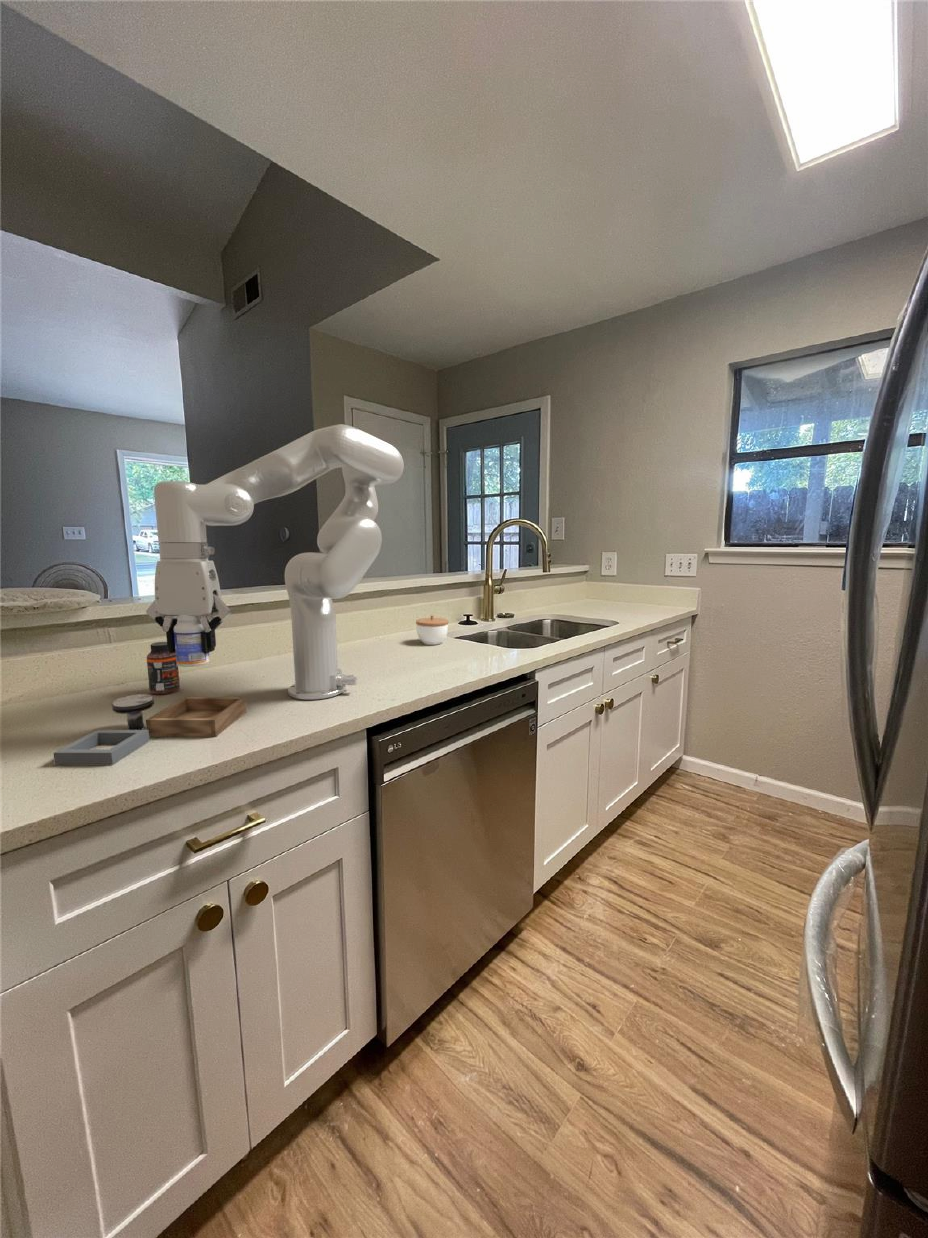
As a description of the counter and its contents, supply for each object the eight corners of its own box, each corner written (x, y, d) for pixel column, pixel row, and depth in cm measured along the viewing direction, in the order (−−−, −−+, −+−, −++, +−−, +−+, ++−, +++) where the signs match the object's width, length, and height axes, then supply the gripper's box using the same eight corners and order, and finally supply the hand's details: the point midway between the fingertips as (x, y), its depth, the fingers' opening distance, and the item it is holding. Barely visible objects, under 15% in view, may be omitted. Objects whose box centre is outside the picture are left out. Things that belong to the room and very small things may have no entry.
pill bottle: (185, 660, 93) (180, 610, 91) (214, 660, 93) (210, 609, 92) (170, 667, 87) (165, 614, 86) (202, 667, 88) (197, 614, 86)
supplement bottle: (166, 696, 108) (161, 646, 106) (143, 694, 109) (137, 645, 108) (186, 688, 114) (181, 641, 112) (164, 686, 115) (159, 639, 113)
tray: (246, 712, 99) (245, 697, 98) (216, 736, 86) (214, 720, 86) (186, 712, 99) (184, 697, 98) (147, 736, 87) (145, 719, 86)
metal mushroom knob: (164, 722, 93) (161, 694, 92) (142, 735, 87) (138, 705, 86) (130, 722, 93) (127, 693, 92) (106, 735, 87) (102, 705, 86)
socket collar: (149, 740, 85) (148, 730, 84) (112, 764, 76) (111, 752, 75) (98, 740, 85) (96, 729, 84) (55, 764, 76) (53, 752, 75)
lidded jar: (455, 643, 163) (455, 615, 162) (431, 648, 156) (431, 619, 154) (433, 638, 170) (433, 612, 169) (409, 643, 163) (409, 615, 161)
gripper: (241, 552, 91) (247, 647, 94) (149, 552, 91) (158, 647, 94) (221, 554, 83) (228, 657, 86) (121, 553, 83) (132, 656, 86)
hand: (192, 650), depth 90 cm, fingers closed on pill bottle, 5 cm apart
